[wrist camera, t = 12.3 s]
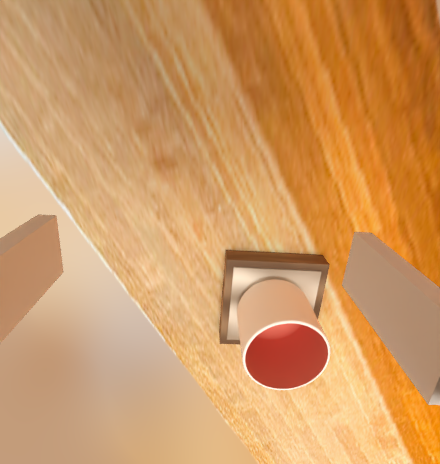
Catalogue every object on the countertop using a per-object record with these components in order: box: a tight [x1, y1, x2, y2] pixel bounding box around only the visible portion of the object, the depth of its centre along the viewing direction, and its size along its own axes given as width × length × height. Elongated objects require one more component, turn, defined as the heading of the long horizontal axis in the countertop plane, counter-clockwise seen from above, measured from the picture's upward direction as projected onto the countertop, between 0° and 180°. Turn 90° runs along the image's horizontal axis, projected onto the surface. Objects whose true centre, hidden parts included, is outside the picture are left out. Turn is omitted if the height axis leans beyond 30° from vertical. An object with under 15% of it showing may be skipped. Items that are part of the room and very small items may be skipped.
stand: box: [219, 250, 329, 344], centre depth 47 cm, size 14×14×3 cm
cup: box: [237, 279, 330, 390], centre depth 41 cm, size 10×10×10 cm
